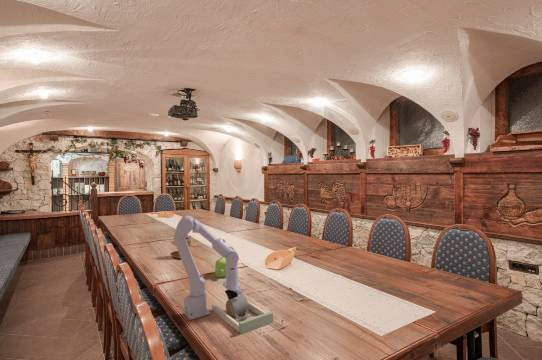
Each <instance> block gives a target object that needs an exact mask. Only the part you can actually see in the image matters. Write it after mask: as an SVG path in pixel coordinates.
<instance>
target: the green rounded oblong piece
mask: <svg viewBox="0 0 542 360" xmlns="http://www.w3.org/2000/svg"><path fill="white" fill-rule="evenodd" d="M214 265H215V266H214V267H215V269H214V270H215V273H214V275H215V277H216V278H225V279H226V259H225V258H224V257H222V256H221V257H220V258H219V259H217V260H216V261H215V264H214Z"/></svg>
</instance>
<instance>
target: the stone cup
mask: <svg viewBox="0 0 542 360" xmlns="http://www.w3.org/2000/svg"><path fill="white" fill-rule="evenodd" d="M186 241H187V244H188V246H189V248H190V246H191V243H192V241H191V238H190V237H186ZM170 256H172V257H174V258H177V259H181V257H180V255H179V252H178V250H175V251H172V252H170Z"/></svg>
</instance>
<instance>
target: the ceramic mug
mask: <svg viewBox="0 0 542 360" xmlns="http://www.w3.org/2000/svg"><path fill="white" fill-rule="evenodd" d="M247 300H248V299H247V297H246V296H245V295H244V294H241V295H238V296H237V297H235V298H232V299H230V300H229V299H228V300H227V301H226V302H225V310H226V312H227V314H228V315H229V316H230V317H232V318H233V317H235V318H236V319H237V320H239V321H244V320H247V319H248V317H249V310H250V309H249V305H248V301H249V300H248V301H247ZM243 314H246V316H243V317H241V316H239V315H243Z"/></svg>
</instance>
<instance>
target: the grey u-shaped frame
mask: <svg viewBox="0 0 542 360" xmlns="http://www.w3.org/2000/svg"><path fill="white" fill-rule="evenodd" d="M247 301H248V305H249V310H250V311H251V312H253V313H255V314H256V315H257V316H254V317H250V318H247V319H245V320H240V321H239V322H238V321H237V320H236V319H234V318H233V317H231V316H229V315H228V313H226V312H225V311H224V310H223V309H222V308H220V307H219V306H218V305H216V304H215V303H212V304H211V311H212V312H213V313H215V314H216V315H217V316H218V317H219V318H220V319H222V320H223V321H225V322H226V323H227V324H228V325H230V327H232V328H234V330H235V331H237V332H238V333H239V334H240V335H242V334H245V333H248V332H250V331H253V330H257V329H258V328H259V329H260V328H262V327H264V326H267V325H270V324H273V323H274V313H273V311H269V312H267V311H265V310H263V309H262V308H261V307H259V306H257V305H256V304H254V303H253V302H251V301H249V300H248V299H247Z"/></svg>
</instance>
